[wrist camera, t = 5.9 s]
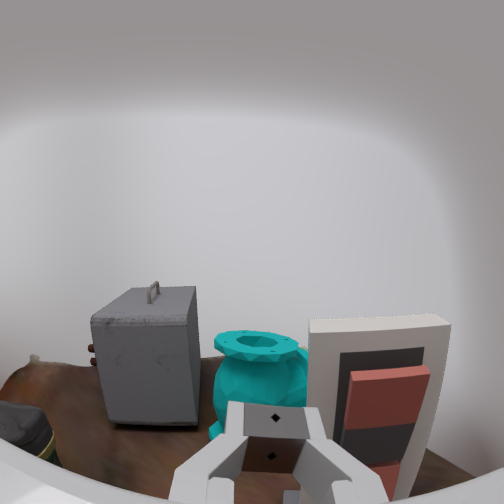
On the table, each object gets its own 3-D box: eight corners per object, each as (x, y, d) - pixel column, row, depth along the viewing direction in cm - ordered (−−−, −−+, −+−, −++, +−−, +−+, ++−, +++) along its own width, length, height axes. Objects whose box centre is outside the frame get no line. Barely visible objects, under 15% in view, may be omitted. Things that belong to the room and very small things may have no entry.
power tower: (283, 497, 32) (287, 311, 31) (400, 489, 30) (439, 305, 28) (274, 564, 20) (279, 357, 19) (418, 550, 18) (500, 339, 16)
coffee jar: (99, 511, 26) (54, 397, 25) (87, 553, 18) (21, 436, 17) (38, 498, 24) (-11, 385, 23) (20, 533, 17) (-48, 414, 16)
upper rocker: (337, 456, 23) (350, 371, 21) (399, 450, 22) (425, 364, 20) (337, 466, 22) (352, 380, 20) (402, 459, 21) (430, 373, 19)
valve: (203, 329, 50) (346, 324, 63) (198, 421, 50) (333, 401, 63) (234, 359, 37) (396, 341, 50) (225, 467, 37) (377, 427, 50)
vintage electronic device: (135, 366, 78) (125, 275, 76) (201, 366, 80) (195, 273, 78) (102, 430, 46) (76, 299, 45) (198, 434, 48) (185, 298, 47)
